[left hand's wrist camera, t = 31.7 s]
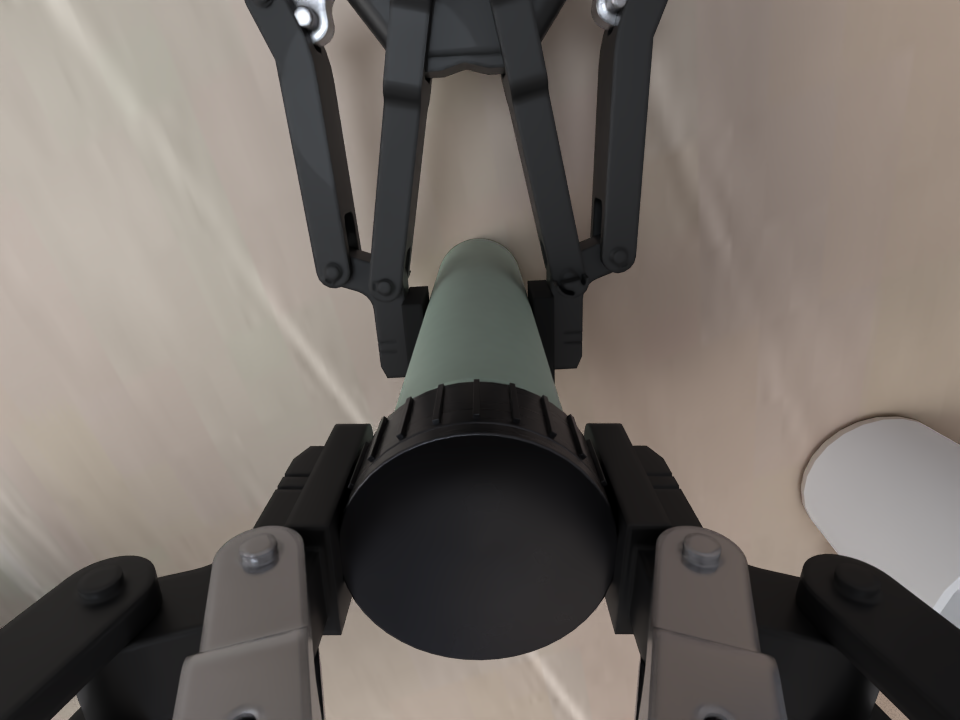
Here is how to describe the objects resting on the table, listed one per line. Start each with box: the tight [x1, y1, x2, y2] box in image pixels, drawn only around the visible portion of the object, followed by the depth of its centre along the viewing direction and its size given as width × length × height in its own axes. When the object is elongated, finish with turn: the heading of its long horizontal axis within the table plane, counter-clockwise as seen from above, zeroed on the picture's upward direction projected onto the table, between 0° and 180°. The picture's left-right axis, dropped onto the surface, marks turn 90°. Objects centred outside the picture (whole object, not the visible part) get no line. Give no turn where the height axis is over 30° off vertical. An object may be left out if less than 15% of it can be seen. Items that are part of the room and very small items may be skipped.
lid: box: [339, 379, 618, 660], centre depth 10 cm, size 5×5×2 cm
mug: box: [801, 417, 960, 629], centre depth 28 cm, size 11×9×10 cm
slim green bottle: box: [395, 239, 563, 411], centre depth 19 cm, size 4×4×19 cm
